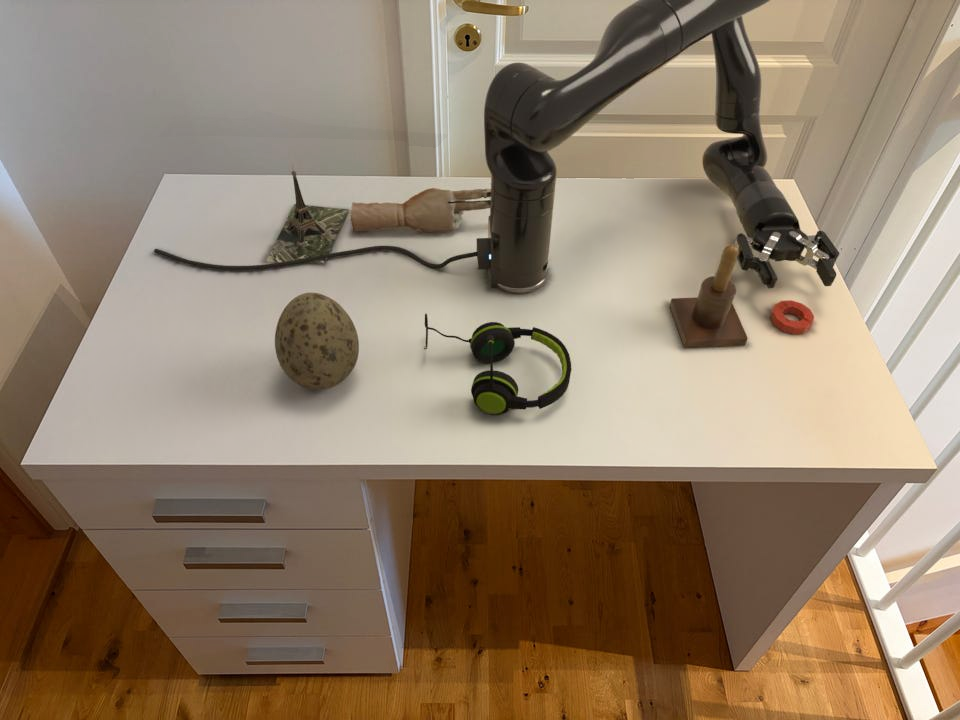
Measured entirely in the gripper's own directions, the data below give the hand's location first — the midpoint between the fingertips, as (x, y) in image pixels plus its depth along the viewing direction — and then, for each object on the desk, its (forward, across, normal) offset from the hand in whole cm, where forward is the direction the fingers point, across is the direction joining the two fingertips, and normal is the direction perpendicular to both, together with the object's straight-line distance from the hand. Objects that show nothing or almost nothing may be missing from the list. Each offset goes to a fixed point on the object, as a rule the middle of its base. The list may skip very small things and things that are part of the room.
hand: (802, 283), depth 105 cm
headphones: (+10, -45, +7) cm, 47 cm away
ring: (+1, 0, +6) cm, 6 cm away
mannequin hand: (-24, -54, +7) cm, 60 cm away
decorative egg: (+9, -69, +7) cm, 70 cm away
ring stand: (+1, -13, +6) cm, 15 cm away
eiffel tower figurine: (-23, -74, +7) cm, 78 cm away
